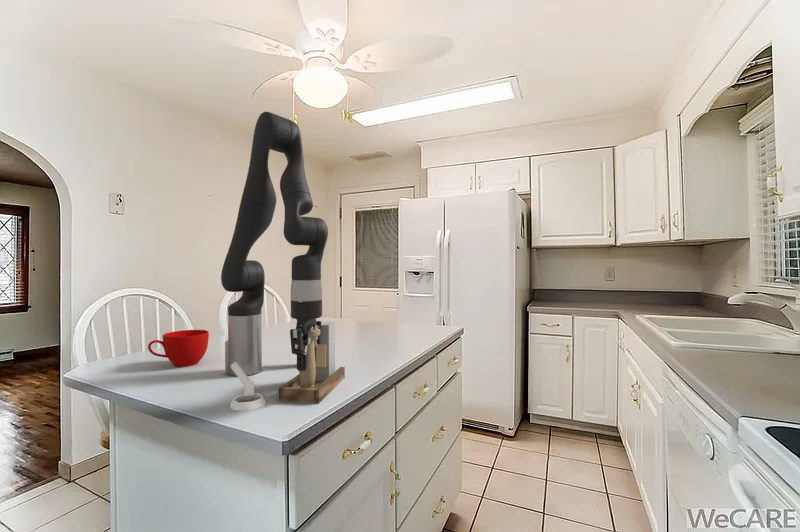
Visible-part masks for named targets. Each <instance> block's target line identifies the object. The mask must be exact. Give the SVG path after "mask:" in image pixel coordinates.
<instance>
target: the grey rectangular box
mask: <svg viewBox="0 0 800 532" xmlns="http://www.w3.org/2000/svg"><path fill="white" fill-rule="evenodd" d="M315 365H316V366H315V367H316V374H315V381H320V382H324V381H325V380H326V379H327V378H328V377H329V376H331V375H332V374H333V373H334V372H335V371H336V322H335V321H334V322H333V321H329V322H328V321H321V337H320V344H318V347H317V348H316V363H315Z"/></svg>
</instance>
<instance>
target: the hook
mask: <svg viewBox="0 0 800 532" xmlns="http://www.w3.org/2000/svg"><path fill="white" fill-rule="evenodd" d="M230 367H231V369H232V370H233V371H234V373H235V374H236V375H237V376H236V377H237V378H238V380H239V381H240V382H241V383H242V385H243V386H244V389H243V394H239V395H237V396H235V397H234V398H233V399H232V400H231V403H230V405H229V409H230V408H231V409H230V410H232V409H233V410H232V411H235V410H241V411H240V412H246V411H245V410H248V411H253V410H257V409H259V407H260V408H262V407H263V406H265V405H266V403H267V402H266V400H265V399H266V398H265V397H264V396H263V394H261V393H257V392H255V390H257V384H255V383H254V381H252V380H251V379H250V378H249V375H246V374H245V372H244V371H243V370H242V368H241V367H240V366H239V365H238V363H237V362H234V363H233V364H231V366H230ZM247 399H249V400H251V401H246V400H247ZM242 400H243V401H242ZM238 401H239V402H238ZM256 408H257V409H256ZM243 410H244V411H243Z"/></svg>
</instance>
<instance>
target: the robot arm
mask: <svg viewBox="0 0 800 532" xmlns="http://www.w3.org/2000/svg"><path fill="white" fill-rule="evenodd" d="M302 139H303V138H302V134H301V129H300V127H299V125H298V124H297V123H296V122H295V121H294V120H291V119H288V118H286V117H283V116H281V115H278V114H275V113H273V112H271V111H263V112H262V113H260V114H259V116H258V118H257V119H256V123H255V126H254V132H253V137H252V144H251V145H252V146H251V152H250V159H249V165H248V166H249V167H248V171H247V175H246V179H245V183H244V188H243V190H242V191H243V192H242V195H241V198H240V199H241V200H240V202H239V208H238V213H237V218H236V223H235V225H234V230H233V233H232V238H231V242H230V244H229V247H228V250H227V253H226V256H225V259H224V262H223V265H222V269H221V273H220V279H221V280H220V281H221V282H220V283H221V286H222V288H223V289H224V290H225V291H227V292H230V293H239V292H241V293H242V294H241V296H240V297H239V298H238V299H237V300H236V301H234V302H233V303H230V304H229V305H228V307H227V326H228V327H227V334H228V336H227V339H228V340H225V341H224V347H225V348H224V356H225V357H224V363H225V364H224V365H225V366H224V369H225V370H224V373H225V374H226V375H230V376H233V377H237V375H236V374H235V373H234V371H233V370H232V369H231V367H230V366H231V364H233V363H234V362H237V363H238V365H239V366H240V367H241V368H242V370H243V371H244V372H245V374H246V375H247V376H251V375H256V374H258V373H260V372H262V370H263V368H262V367H263V366H262V365H263V360H262V358H263V355H262V354H263V350H262V348H263V345H262V343H263V341H262V340H263V339H262V337H263V336H262V335H263V333H262V330H263V329H262V327H263V326H262V308H263V305H264V300H265V299H264V298H265V285H266V284H265V282H266V281H265V280H266V279H265V278H266V277H265V276H266V275H265V270H264V267H263V265H262V264H261V262H259V261H257V260H253V259H252V260H251V259H248V256H249V254H250V251H251V249H252V248H253V246H254V244H256V242H257V241H258V240H259V239H260V238H261V237H262V235H263V234H264V233H265V232H266V230H267V229H268V228H269V227H270V226H271V224H272V222H273V218H274V215H275V210H276V206H277V195H276V191H275V187H274V185H273V181H272V179H271V175H270V172H269V157H270V156H269V155H270V151H274V152H278V153H282V154H284V156H285V158H286V160H287V165H286V167H285V169H284V170H283V171H282V174H281V176H280V180H279V189H280V190H279V191H280V194H281V199H282V202H283V207H284V222H283V236H284V239H285V240H286V241H287V242H288V243H289V244H290V245H292V246H308V249H307V251H306V253H304V254H300V255H297V256H294V257H293V258H292V260H291V282H290V317H291V318H292V319H293V320H295V319H296V324H295V325H296V326H295V328H291V329H290V331H289V335H290V336H289V337H290V346H291V347H290V348H291V349H290V350H291V354H293V355H296V370H297V371H298V372H299V371H305V370H306V369H307V355H306V353H307V347H308V345H310V340H311V337H310V333H311V331H313V329H314V330H316V329H320V335H319V336H318V337H316V338H315V339H314V349H315V363H316V348H317V347H318V344H320V337H321V322H322V320H317V319H319V318H321V317H322V316H323V285H322V261H323V256H324V252H325V248H326V245H327V242H328V236H329V229H328V225H327V223H326V221H325V220H324V219H322V218H320V217H312V216H304V215H307V214H309V213H310V212H311V211H312V209H313V207H314V202H313V198H312V195H311V191H310V187H309V185H308V182H307V177H306V171H305V160H304V149H303V140H302ZM307 332H308V334H307ZM303 345H304V348H303Z"/></svg>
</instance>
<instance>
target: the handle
mask: <svg viewBox="0 0 800 532" xmlns="http://www.w3.org/2000/svg"><path fill="white" fill-rule="evenodd" d="M307 334H308V332H307ZM319 335H320V329H316V330H314V329H313V331H311V333H310V337H311V340H310V345H308V347H307V353H306V355H307V369H306V370H305V371H298V375H299V379H300V384H301V386H300V388H314V386H315V385H314V383H315V374H316V367H315V366H316V365H315V349H314V339H315V338H316V337H318V336H319ZM303 348H304V345H303Z"/></svg>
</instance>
